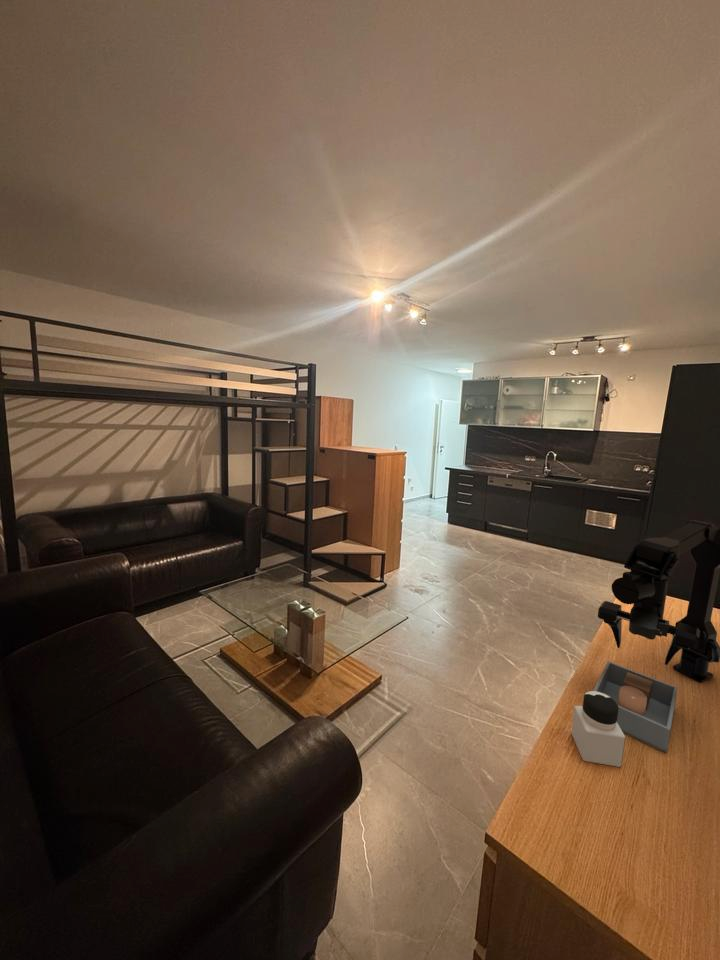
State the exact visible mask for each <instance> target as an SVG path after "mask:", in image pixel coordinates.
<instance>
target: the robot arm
mask: <svg viewBox="0 0 720 960" xmlns="http://www.w3.org/2000/svg"><path fill="white" fill-rule="evenodd" d="M688 551H689V554H690V556H691V557H692V559H693V561H694V563H695V567H694V574H693V579H692V583H691V589H690V595H689V601H688V606H687V611H686V615H685V616H684V617H682V618H681V619H680V620H679V621H676V622H675V625H672V624H670V620H667V619H664V613H665V605H666V600H667V591H668V587H669V578H670V577H671V576H673V575H674V574H673V573H674V571H675V570H676V568H677V567H678V565H679V564H680V562H681V560H680V557H681V556H682V555H683V554H686V552H688ZM623 567H624V569H626V570H629V571H625V572H623V573H622V577H619V578H616V579H615V580H614V581H613V582H612V583H611V592H612V594H613V596H614V597H615V598H616V600H618V601H619V602H620V603H622V604H624V605H625V604H626V605H632V607H631V609H630V611H629V612H628V611H625V610H623V609H622V605H621V604H617V603H614V602H611V601H608V600H605V601H602V603H601V604H600V606H599V607H598V610H597V618H599V619H600V620H603V622H604V623H605V624H607V625H608V626H609V627H610V628H611V631H612V633H613V637H614V641H615V644H616V647H617V648H618V649H620V647H621V645H622V626H623V624H622V621H623V620H624V621H628V623H629V625H628V631H629V632H630V633H631V634H632V635H637V636H641V637H643V638H646V639H648V640H652V641H653V640H655V639H656V636H658V637H661V638H662V637H665V638H667V637H668V635H669V634H670V635H672V639H671V641H670V644H669V646H668V647H669V648H668V649H667V653H666V655H665V656H666V657H665V661H664V665H666V666H668V664H669V663H670V662H671V660H672V659H673V657H674V656H675V655H676V654H677V653H678V652H679V651H680V650H681V653H680V659H679V660H680V661H679V663H676V664H674V665H673V666H672V669H674V670H676V671H678V672H679V673H681V674H683V675H684V676H687V677H688V678H691V679H692V680H695V681H696V682H698V683H702V682H703V683H704V682H705V681H707V680H709V679H711V678H713V677H714V673H712V672H710V671H709V666H710V664H712V663H720V645H719V643H718V641H717V638H718V637H717V635H718V632H717V630H716V628H715V627H714V624H713V622H712V615H713V610H714V604H715V598H716V594H717V591H718V590H717V589H718V584H719V579H720V529H719V528H718V527H717V526H716V524H713V523H710V522H705V521H699V520H695V519H693V520H691V519H690V520H688V521H687V522H686V523H685V525H683V526H682V527H680V528H678V529H675V530H674V531H671V533H668V534H667V535H665V536H662V537H648V538H644V539H641V540H640V541H639V542H638V543H636V544H635V546H634V547H633V549H632V551H631V552H630V554H629V556H628V558H627V559H626V562H625V564H624V565H623Z"/></svg>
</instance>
